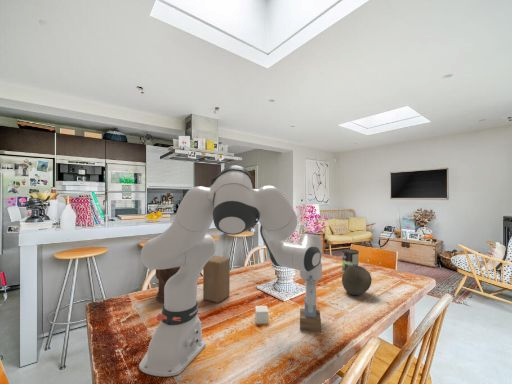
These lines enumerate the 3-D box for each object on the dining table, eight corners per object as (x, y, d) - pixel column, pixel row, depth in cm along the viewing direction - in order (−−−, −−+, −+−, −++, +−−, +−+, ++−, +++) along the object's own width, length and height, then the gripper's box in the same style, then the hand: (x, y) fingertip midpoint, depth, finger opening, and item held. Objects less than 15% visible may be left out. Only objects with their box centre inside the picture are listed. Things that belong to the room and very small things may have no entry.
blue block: (316, 317, 96) (316, 302, 95) (304, 316, 96) (304, 301, 96) (315, 311, 100) (315, 297, 100) (304, 310, 101) (304, 296, 101)
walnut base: (320, 333, 94) (320, 320, 93) (299, 330, 95) (299, 318, 95) (319, 322, 101) (319, 310, 101) (300, 319, 103) (300, 308, 103)
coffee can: (344, 273, 159) (344, 252, 159) (340, 268, 169) (341, 248, 169) (360, 274, 158) (360, 253, 157) (356, 269, 168) (356, 249, 168)
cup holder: (199, 290, 131) (199, 244, 131) (175, 312, 108) (175, 256, 108) (169, 286, 136) (169, 242, 135) (139, 307, 112) (139, 253, 112)
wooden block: (202, 299, 121) (202, 259, 120) (214, 291, 129) (214, 254, 129) (218, 304, 116) (218, 262, 116) (230, 295, 125) (230, 257, 124)
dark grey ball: (352, 301, 119) (352, 271, 119) (336, 289, 133) (337, 262, 133) (376, 299, 122) (377, 269, 122) (359, 287, 136) (359, 261, 136)
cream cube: (268, 323, 100) (268, 311, 100) (256, 323, 99) (256, 311, 99) (266, 317, 105) (266, 305, 105) (255, 317, 104) (255, 305, 104)
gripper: (320, 282, 87) (319, 320, 87) (317, 265, 107) (316, 295, 107) (302, 281, 88) (302, 318, 88) (302, 264, 108) (302, 294, 109)
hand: (310, 305), depth 98 cm, fingers open, 8 cm apart
